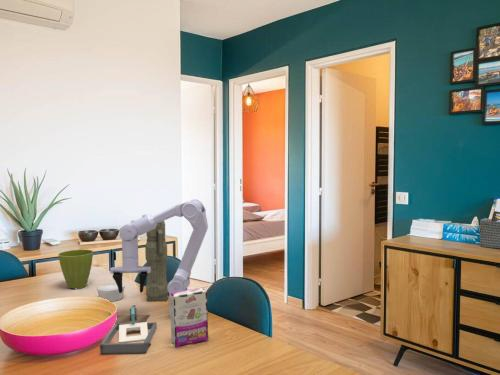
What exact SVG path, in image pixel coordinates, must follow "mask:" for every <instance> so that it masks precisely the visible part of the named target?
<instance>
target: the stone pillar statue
mask: <svg viewBox="0 0 500 375" xmlns="http://www.w3.org/2000/svg"><path fill="white" fill-rule="evenodd" d="M146 237H147V238H146V243H145V246H144V248H145V251H144V253H145V256H144V257H145V260H146V267H151V272H150V273H148V275H147V277H146V281H147V282H146V285H145V296H146V302H147V303H152V302H153V303H154V302H155V303H156V302H167V301H169V292H168V289H167V286H168V284H169V282H168V280H167V259H168V245H167V242H166V222H165V220H164V221H162V222H159V223H157V226H156V228H155V229H153V230H151V231H148V232H146Z"/></svg>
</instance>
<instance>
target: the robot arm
mask: <svg viewBox="0 0 500 375" xmlns="http://www.w3.org/2000/svg"><path fill="white" fill-rule="evenodd" d="M206 210H207V209H206V207H205V206H204V204H203V202H201V201H200V200H199V199H191V200H189V201H185V202H182V203H178V204H175V205H173V206H171V207H168V208H167V209H165V210H163V211H161V212H159V213H157V214H155V215H152V214H146V213H145V214H143V215H141V217H140V218H138V219H135V220H134V219H133V220H130V222H128V223H125V224H124V225H122V226H121V227H120V229H119V231H118V232H119V233H118V234H119V238H120V239H121V258H122V259H121V261H122V263H121V264H122V266H113V267H110V269H109V272H110V274H112V278H113V280H114V283H116V284H117V286H118V290H119V293H121V292H122V291H123V287H122V284H123V275H124V274H139V275H138V277H139V294H141V293H143V292H144V288H145V282H146V281H147V275H148V273H150V272H151V267H147V266H145V265H143V266H141V265H139V241H138V240H139V239H138V238H139V236H142V235H144V234H147V232H148V231H151V230H153V229H155V228H156V226H157V223H159V222H162V221H164V222H165V221H167V220H169V219H172V218H173V217H180V218H182V217H184V219H186V221H188V222H189V224H190V225H191V227H192V232H191V234H190V237H189V239H188V243H187V244H186V248H185V249H184V252H183V255H182V258H181V260H180V262H179V265H178V267H177V270H176V271H175V274H174V276H173V278H172V279H171V280H170V281H169V282H168V286H167V289H168V302H169V303H168V305H169V308H168V309H169V312H168V313H169V317H170V318H171V312H170V293H172V292H178V291H184V290H189V289H188V288H189V286H190V284H191V279H190V277H191V275H192V269H193V267H194V264H195V262H196V260H197V257H198V254H199V252H200V249H201V246H202V244H203V242H204V239H205V236H206V234H207V232H208V229H209V224H208V217H207V212H206Z"/></svg>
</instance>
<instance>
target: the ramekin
mask: <svg viewBox="0 0 500 375" xmlns="http://www.w3.org/2000/svg"><path fill="white" fill-rule="evenodd" d="M125 286H126V285H125V284H123V283H122V287H123V291H122V292H121V293H119V290H118V286H117V284H116V282H113V283H112V282H111V283H105V284H101V285H99V286H97V288H96V291H97V294H98V298H99V297H101V298H104V299H107V300H109V301H113V302H116V301H117V300H118V301H120V300H121V299H123V297H124V292H125V288H126V287H125Z"/></svg>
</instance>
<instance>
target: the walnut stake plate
mask: <svg viewBox="0 0 500 375" xmlns="http://www.w3.org/2000/svg"><path fill="white" fill-rule="evenodd" d="M116 315H117V314H116ZM150 316H151V314H137V320H136V321H135V323H142V322H148V319H149V318H150ZM116 323H132V321H130V314H127V315H126V314H120V315H119V314H118V315H117V320H116V322H115V324H116ZM114 326H115V325H114Z"/></svg>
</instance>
